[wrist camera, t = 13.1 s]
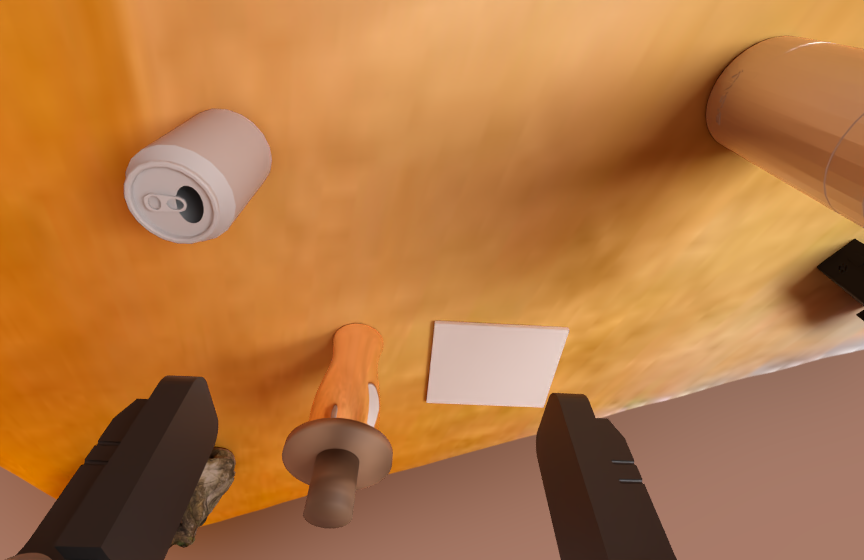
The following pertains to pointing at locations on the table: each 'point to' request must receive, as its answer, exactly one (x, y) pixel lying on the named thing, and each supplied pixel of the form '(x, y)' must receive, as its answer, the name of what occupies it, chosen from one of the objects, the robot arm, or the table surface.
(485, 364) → the white mat
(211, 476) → the hollow geode rock
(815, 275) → the table surface
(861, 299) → the digital camera
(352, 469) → the walnut lid
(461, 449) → the table surface
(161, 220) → the can
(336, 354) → the beer glass
